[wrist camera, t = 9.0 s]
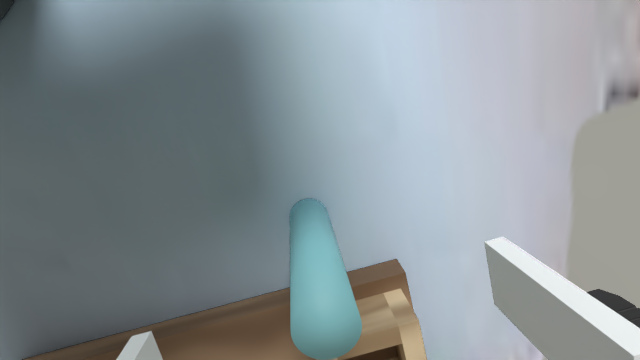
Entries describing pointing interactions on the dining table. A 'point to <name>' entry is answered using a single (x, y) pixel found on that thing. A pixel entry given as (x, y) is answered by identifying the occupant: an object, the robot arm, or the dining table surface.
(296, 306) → the peg
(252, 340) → the board
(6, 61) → the dining table surface
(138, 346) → the robot arm
